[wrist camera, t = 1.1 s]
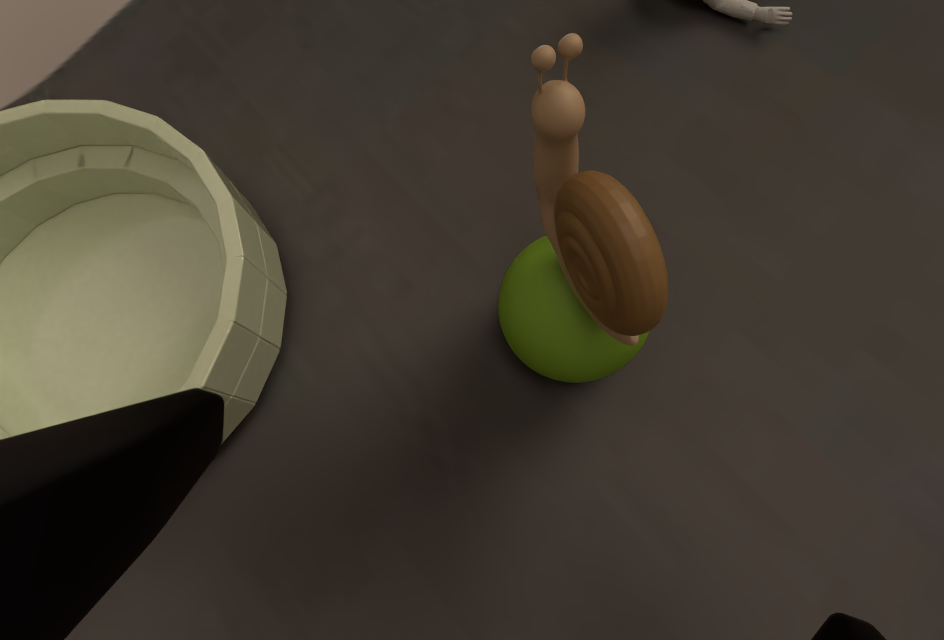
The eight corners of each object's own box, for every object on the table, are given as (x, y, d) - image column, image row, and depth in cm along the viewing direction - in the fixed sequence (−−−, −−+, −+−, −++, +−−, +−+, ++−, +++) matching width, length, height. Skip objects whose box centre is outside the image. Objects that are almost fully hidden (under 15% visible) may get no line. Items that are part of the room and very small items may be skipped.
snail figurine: (579, 222, 24) (661, -15, 12) (658, 355, 22) (837, 226, 11) (464, 276, 23) (437, 83, 12) (536, 416, 22) (586, 349, 10)
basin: (29, 582, 21) (-110, 614, 16) (-96, 283, 24) (-242, 236, 19) (356, 366, 23) (320, 337, 18) (197, 116, 26) (130, 34, 21)
